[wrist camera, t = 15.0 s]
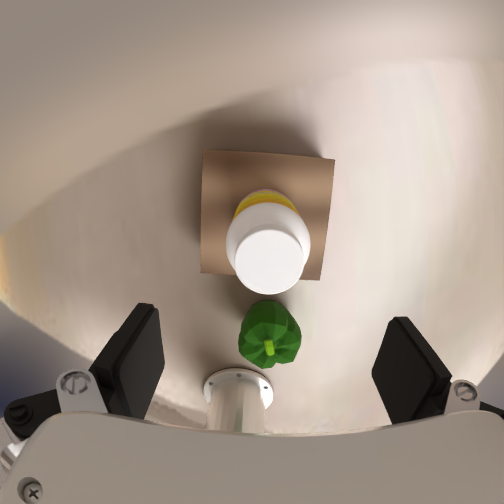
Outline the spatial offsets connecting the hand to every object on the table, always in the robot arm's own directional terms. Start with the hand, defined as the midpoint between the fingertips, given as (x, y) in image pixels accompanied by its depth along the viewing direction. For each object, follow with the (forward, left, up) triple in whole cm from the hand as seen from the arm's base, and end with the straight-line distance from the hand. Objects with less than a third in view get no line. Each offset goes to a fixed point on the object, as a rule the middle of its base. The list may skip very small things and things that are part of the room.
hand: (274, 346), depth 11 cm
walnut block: (0, 0, -28) cm, 28 cm away
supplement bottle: (0, 0, -22) cm, 22 cm away
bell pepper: (-16, -2, -28) cm, 32 cm away
